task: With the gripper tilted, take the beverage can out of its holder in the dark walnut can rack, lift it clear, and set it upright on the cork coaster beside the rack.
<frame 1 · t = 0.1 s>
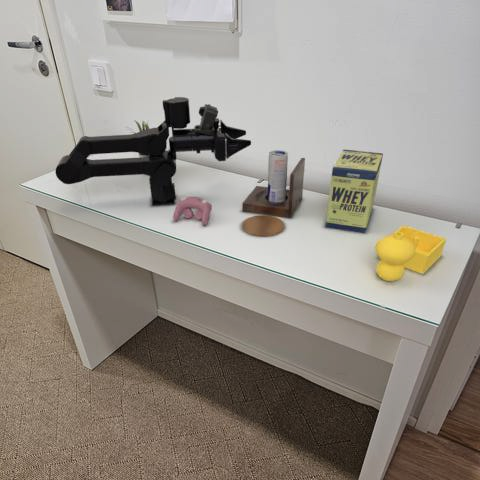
hand: (248, 137, 120), 17 cm above the table, tool horizontal, fingers open, 9 cm apart
protein box: (349, 218, 118), on the table
beverage can: (276, 206, 125), resting in can rack
video game controller: (193, 220, 118), on the table
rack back: (296, 187, 119), on the table
can rack: (272, 205, 125), on the table
house plant: (148, 171, 148), on the table
cork coaster: (263, 226, 115), on the table
bath set: (400, 267, 99), on the table
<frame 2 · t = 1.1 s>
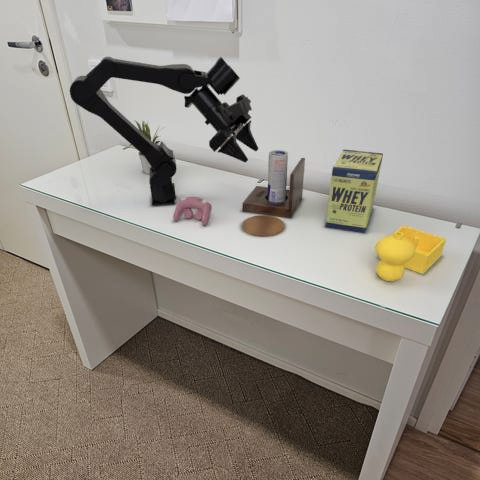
hand: (252, 155, 118), 13 cm above the table, tool tilted 45°, fingers open, 9 cm apart
nothing on the table moved.
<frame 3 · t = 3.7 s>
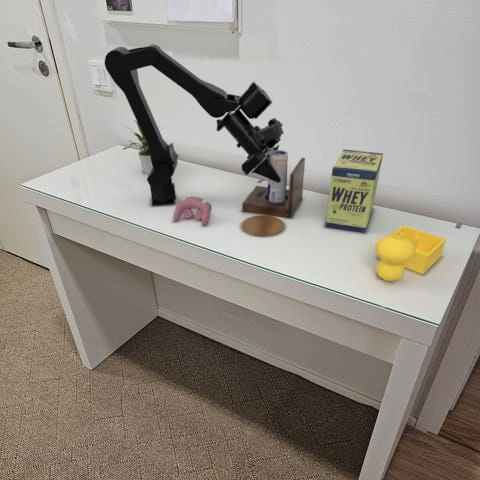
hand: (282, 177, 119), 8 cm above the table, tool tilted 45°, fingers closed on beverage can, 5 cm apart
beverage can: (276, 206, 125), resting in can rack, touching gripper
everything else where it was.
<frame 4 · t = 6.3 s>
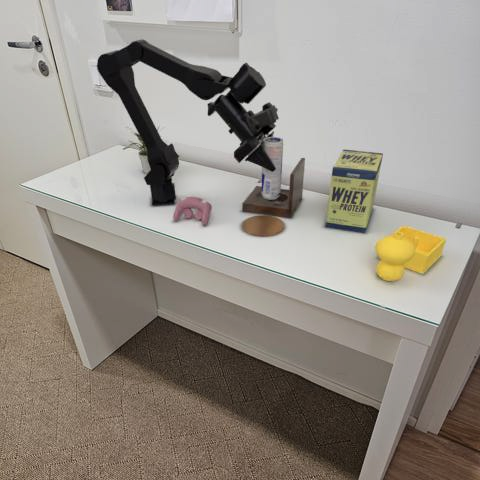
hand: (277, 166, 112), 13 cm above the table, tool tilted 45°, fingers closed on beverage can, 5 cm apart
beverage can: (270, 197, 118), point 5 cm above the table, touching gripper
everything else where it was.
when the fingers open (9 cm above the table, at t = 9.2 s): beverage can stays where it is, resting on cork coaster.
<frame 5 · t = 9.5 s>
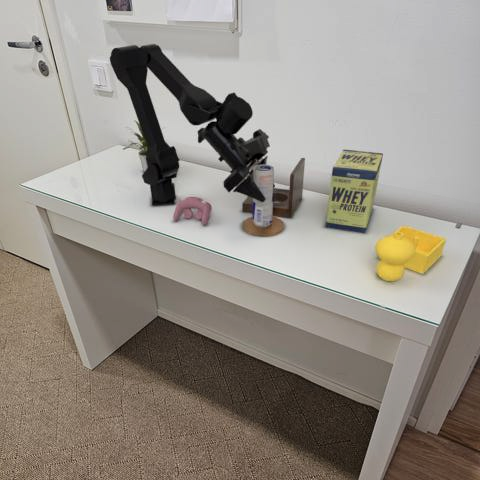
hand: (269, 194, 109), 9 cm above the table, tool tilted 45°, fingers open, 8 cm apart
beverage can: (262, 224, 115), resting on cork coaster
everything else where it was.
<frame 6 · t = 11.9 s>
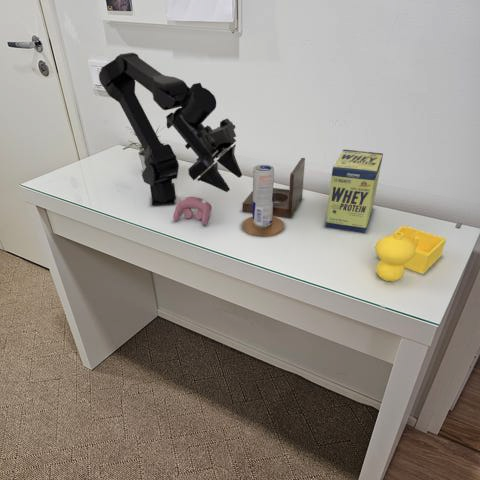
hand: (234, 183, 111), 10 cm above the table, tool tilted 40°, fingers open, 9 cm apart
nothing on the table moved.
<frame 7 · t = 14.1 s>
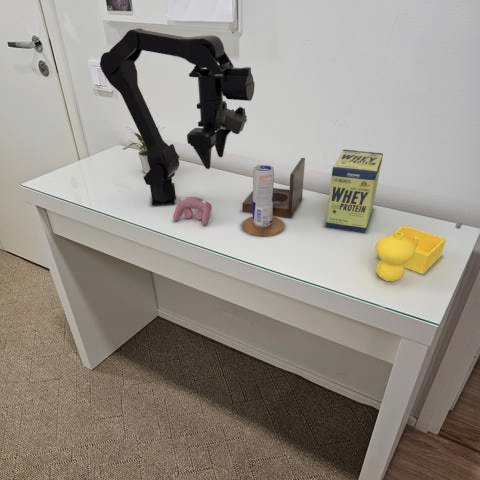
hand: (214, 162, 115), 13 cm above the table, tool pointing down, fingers open, 9 cm apart
nothing on the table moved.
at the end: beverage can inside the target area on the cork coaster (0.3 cm from its centre), point 0.4 cm above the cork coaster's base; beverage can tilted 0°; the gripper is holding nothing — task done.
